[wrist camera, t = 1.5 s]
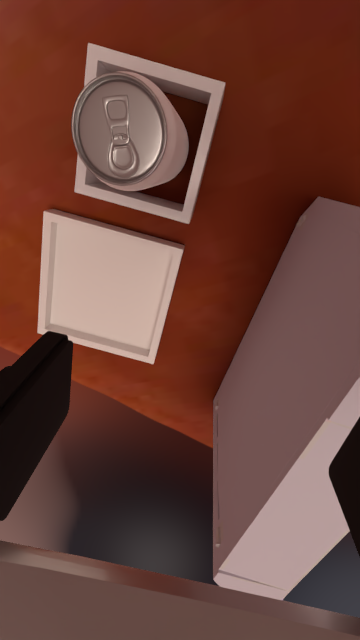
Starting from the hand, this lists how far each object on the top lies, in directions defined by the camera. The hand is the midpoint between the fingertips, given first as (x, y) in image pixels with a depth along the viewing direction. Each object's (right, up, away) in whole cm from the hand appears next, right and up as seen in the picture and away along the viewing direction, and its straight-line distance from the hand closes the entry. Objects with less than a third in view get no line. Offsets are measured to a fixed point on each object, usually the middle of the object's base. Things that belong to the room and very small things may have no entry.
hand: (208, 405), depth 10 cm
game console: (+10, +2, +25) cm, 27 cm away
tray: (-9, +6, +25) cm, 28 cm away
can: (-3, +19, +19) cm, 27 cm away
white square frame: (-3, +19, +19) cm, 27 cm away
